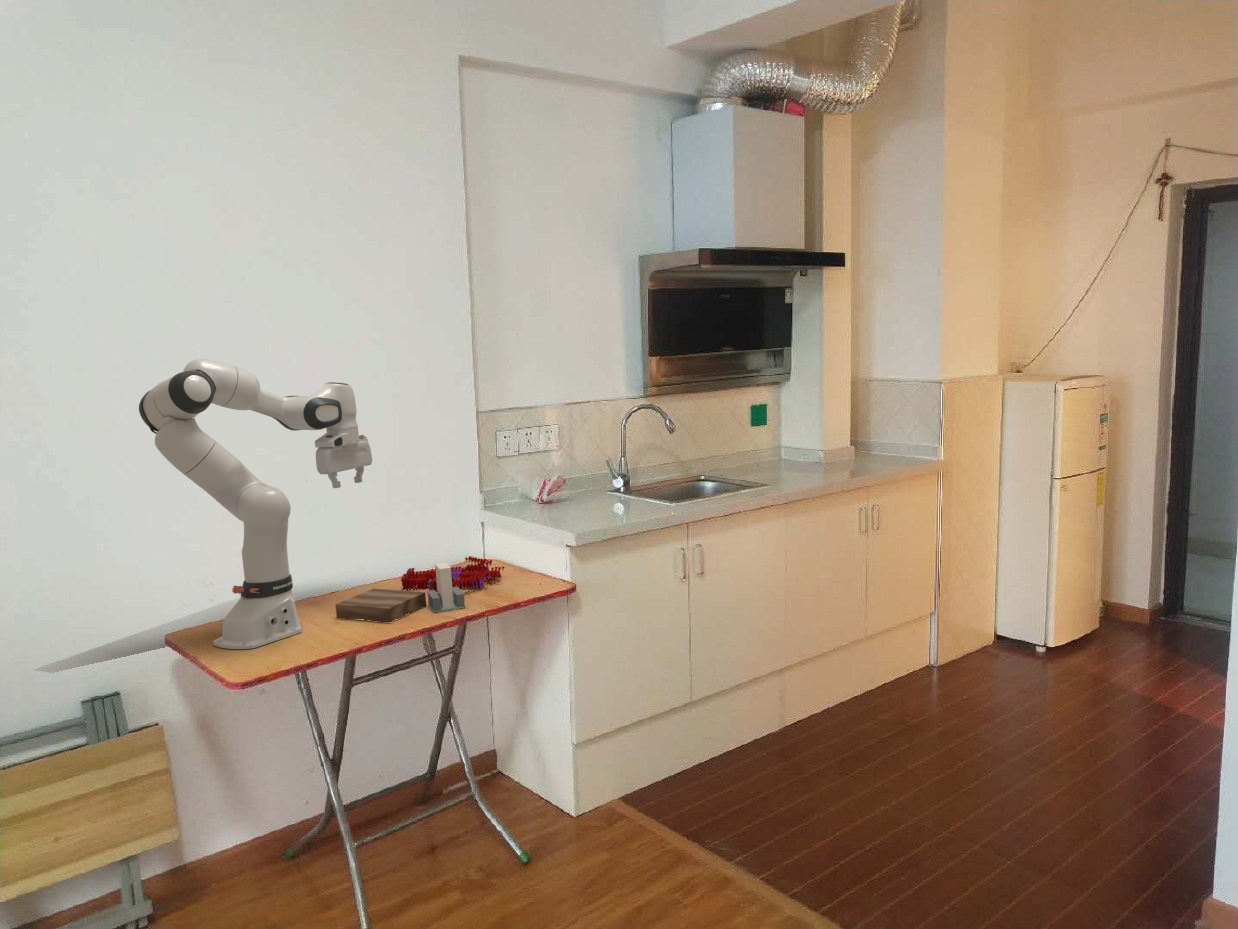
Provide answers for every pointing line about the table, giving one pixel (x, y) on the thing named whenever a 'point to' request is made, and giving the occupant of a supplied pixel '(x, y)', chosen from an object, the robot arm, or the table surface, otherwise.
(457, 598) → the rack
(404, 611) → the deck
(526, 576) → the table surface
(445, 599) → the beige upright block
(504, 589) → the table surface
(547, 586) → the table surface
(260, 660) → the table surface
